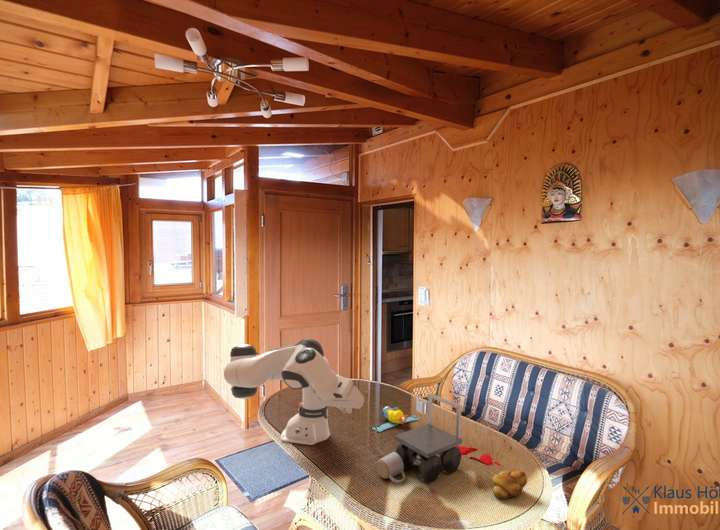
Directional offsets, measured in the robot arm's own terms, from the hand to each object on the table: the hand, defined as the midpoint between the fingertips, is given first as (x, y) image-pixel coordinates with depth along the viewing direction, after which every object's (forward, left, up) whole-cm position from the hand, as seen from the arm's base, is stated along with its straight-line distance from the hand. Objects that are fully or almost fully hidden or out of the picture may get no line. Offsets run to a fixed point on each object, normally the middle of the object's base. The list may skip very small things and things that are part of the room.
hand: (348, 411), depth 147 cm
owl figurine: (+18, +57, -29) cm, 67 cm away
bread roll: (+56, +1, -29) cm, 63 cm away
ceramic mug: (+16, +9, -29) cm, 34 cm away
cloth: (+50, +28, -29) cm, 64 cm away
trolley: (+30, +15, -28) cm, 44 cm away
